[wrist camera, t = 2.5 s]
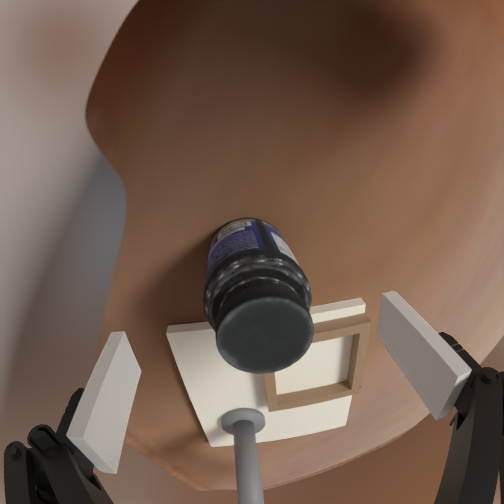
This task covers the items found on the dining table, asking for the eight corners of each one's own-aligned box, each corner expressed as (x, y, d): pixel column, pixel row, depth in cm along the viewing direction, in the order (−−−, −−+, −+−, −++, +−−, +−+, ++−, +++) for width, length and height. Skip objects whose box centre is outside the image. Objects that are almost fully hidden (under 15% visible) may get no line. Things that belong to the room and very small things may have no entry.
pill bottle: (204, 282, 24) (194, 379, 14) (214, 210, 22) (204, 273, 12) (277, 290, 25) (309, 385, 15) (292, 221, 23) (345, 289, 12)
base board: (168, 325, 25) (138, 457, 12) (360, 297, 26) (438, 403, 13) (211, 439, 33) (213, 528, 20) (343, 418, 33) (373, 500, 20)
